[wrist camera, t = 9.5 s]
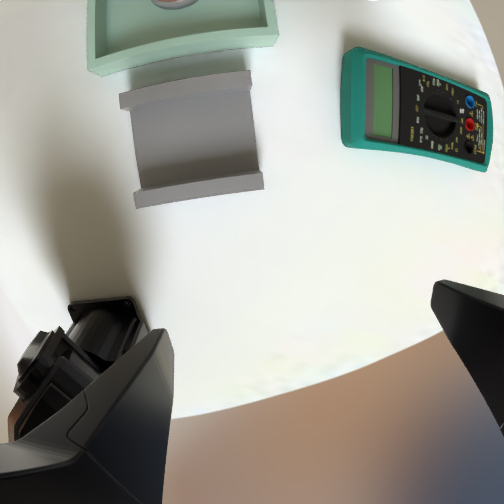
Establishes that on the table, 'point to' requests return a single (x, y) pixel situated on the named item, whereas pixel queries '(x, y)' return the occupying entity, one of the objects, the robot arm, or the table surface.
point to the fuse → (173, 4)
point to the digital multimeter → (413, 111)
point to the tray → (172, 30)
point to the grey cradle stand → (194, 138)
